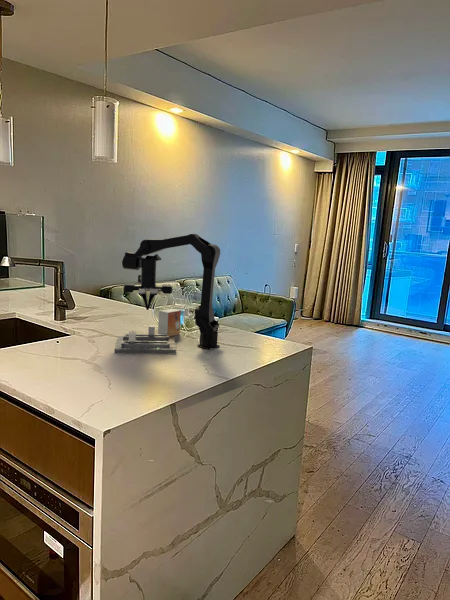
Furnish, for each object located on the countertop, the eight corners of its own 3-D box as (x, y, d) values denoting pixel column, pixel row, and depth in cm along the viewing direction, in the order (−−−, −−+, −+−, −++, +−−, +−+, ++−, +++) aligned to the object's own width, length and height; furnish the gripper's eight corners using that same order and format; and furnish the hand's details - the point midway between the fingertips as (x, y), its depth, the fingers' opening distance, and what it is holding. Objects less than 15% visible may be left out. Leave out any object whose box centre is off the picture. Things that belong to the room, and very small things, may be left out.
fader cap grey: (154, 337, 182) (154, 324, 181) (154, 339, 179) (154, 326, 178) (148, 337, 181) (148, 324, 181) (148, 339, 178) (148, 326, 177)
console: (173, 339, 186) (173, 333, 185) (175, 353, 167) (176, 346, 167) (118, 339, 182) (118, 332, 182) (114, 353, 164) (114, 346, 163)
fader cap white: (135, 343, 171) (135, 330, 170) (135, 346, 168) (135, 333, 167) (129, 343, 171) (129, 330, 170) (128, 346, 167) (128, 333, 166)
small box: (167, 337, 189) (167, 312, 187) (157, 334, 192) (158, 310, 190) (180, 334, 195) (181, 310, 193) (170, 331, 198) (171, 308, 196)
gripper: (171, 269, 190) (170, 306, 192) (126, 267, 187) (125, 305, 190) (172, 273, 179) (171, 311, 182) (124, 271, 176) (123, 310, 179)
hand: (147, 309), depth 183 cm, fingers closed
